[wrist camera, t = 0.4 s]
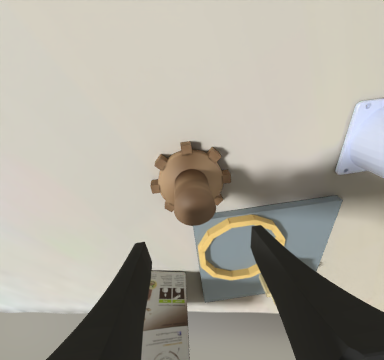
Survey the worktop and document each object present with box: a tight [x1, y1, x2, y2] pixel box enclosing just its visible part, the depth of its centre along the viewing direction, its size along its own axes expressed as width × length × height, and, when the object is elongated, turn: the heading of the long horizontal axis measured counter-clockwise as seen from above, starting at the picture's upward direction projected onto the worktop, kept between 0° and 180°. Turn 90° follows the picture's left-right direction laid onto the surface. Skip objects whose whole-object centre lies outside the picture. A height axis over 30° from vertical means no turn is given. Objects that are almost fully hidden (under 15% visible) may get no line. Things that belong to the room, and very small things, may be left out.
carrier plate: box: [193, 195, 343, 305], centre depth 26 cm, size 19×19×5 cm
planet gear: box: [151, 141, 231, 226], centre depth 18 cm, size 9×9×6 cm
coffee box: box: [141, 271, 190, 360], centre depth 23 cm, size 9×6×16 cm
